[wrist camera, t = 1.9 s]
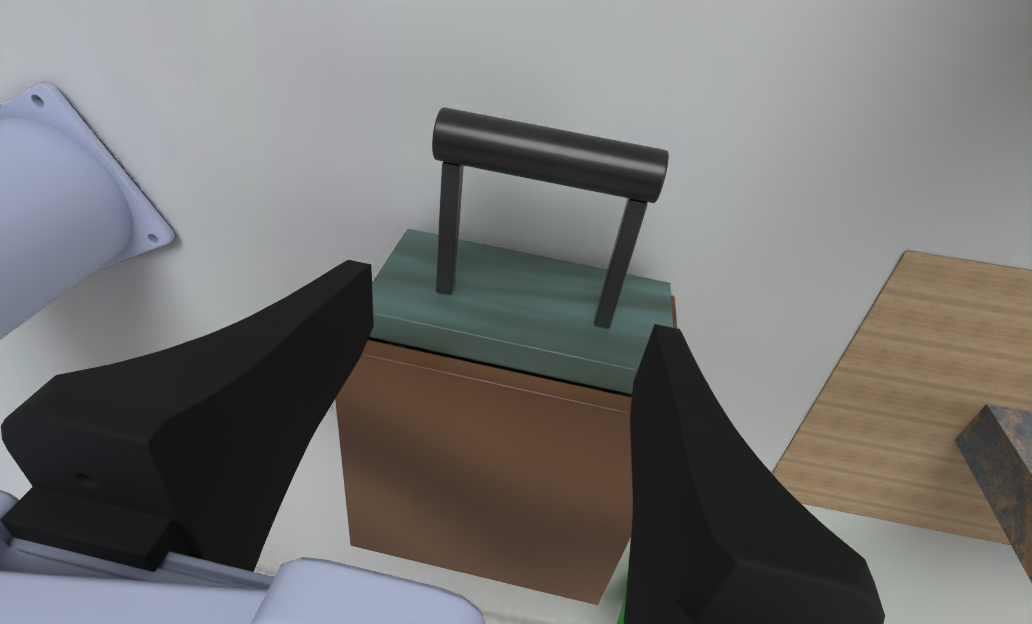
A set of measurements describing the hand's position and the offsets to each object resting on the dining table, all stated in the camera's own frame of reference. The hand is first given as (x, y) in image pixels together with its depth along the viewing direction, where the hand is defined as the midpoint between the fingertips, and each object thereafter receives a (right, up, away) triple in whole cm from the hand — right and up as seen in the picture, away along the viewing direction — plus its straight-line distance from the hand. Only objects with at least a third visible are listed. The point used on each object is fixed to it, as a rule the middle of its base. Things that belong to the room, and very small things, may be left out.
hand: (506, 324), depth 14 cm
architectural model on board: (+27, -6, +12) cm, 30 cm away
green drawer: (+1, +1, +12) cm, 12 cm away
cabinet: (0, -3, +15) cm, 16 cm away
